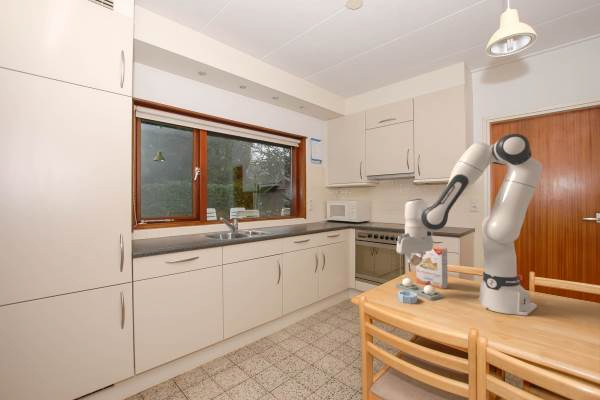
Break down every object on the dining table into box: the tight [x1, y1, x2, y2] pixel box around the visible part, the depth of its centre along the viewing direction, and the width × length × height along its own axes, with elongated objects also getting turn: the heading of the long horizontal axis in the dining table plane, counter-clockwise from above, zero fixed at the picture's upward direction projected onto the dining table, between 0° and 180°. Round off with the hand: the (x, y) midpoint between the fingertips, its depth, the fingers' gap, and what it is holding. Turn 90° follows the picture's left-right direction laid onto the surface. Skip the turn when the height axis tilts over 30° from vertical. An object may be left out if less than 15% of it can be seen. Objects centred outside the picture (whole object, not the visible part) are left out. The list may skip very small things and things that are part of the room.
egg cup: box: [397, 289, 418, 305], centre depth 122 cm, size 8×8×4 cm
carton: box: [395, 282, 444, 301], centre depth 132 cm, size 8×21×2 cm, turn 25°
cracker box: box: [415, 246, 448, 290], centre depth 142 cm, size 14×6×21 cm, turn 36°
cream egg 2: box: [423, 285, 436, 296], centre depth 126 cm, size 5×5×5 cm
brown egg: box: [410, 254, 421, 267], centre depth 130 cm, size 5×5×5 cm
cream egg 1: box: [401, 277, 414, 288], centre depth 138 cm, size 5×5×5 cm
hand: (415, 261), depth 130 cm, fingers closed on brown egg, 5 cm apart
